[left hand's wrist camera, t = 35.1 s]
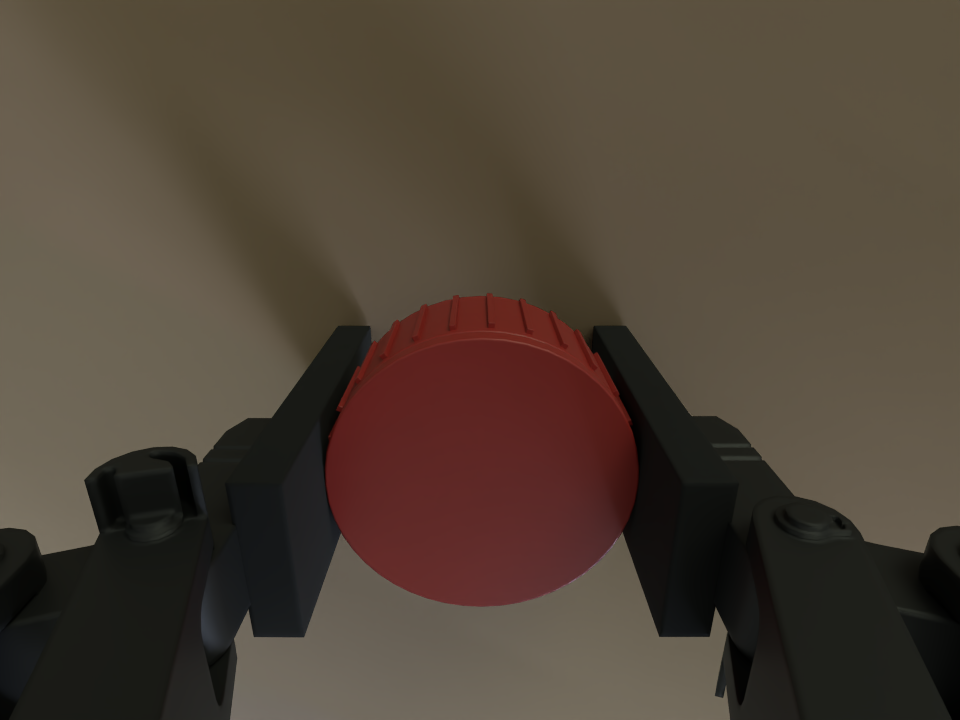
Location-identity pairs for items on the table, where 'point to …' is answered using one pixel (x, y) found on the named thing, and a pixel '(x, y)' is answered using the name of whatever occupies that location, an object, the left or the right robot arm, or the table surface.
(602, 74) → the table surface
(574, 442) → the lid
